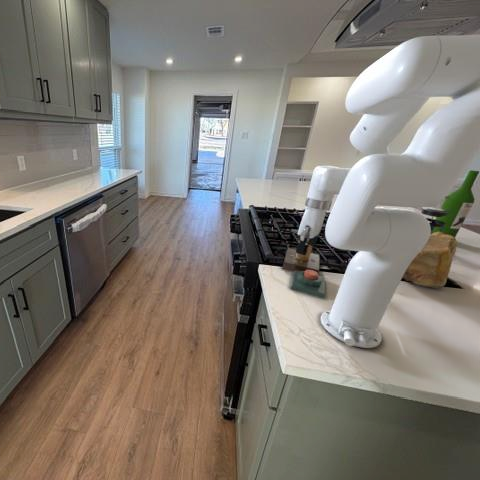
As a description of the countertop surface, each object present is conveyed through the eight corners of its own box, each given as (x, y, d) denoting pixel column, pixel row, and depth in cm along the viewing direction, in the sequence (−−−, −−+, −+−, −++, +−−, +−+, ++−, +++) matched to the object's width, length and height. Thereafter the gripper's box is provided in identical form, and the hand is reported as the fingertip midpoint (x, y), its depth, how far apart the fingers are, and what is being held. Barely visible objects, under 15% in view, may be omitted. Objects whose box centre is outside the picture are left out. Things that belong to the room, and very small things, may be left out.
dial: (293, 257, 94) (297, 244, 91) (298, 254, 96) (301, 241, 94) (306, 262, 91) (310, 248, 89) (310, 258, 93) (314, 245, 91)
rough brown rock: (388, 257, 104) (399, 223, 99) (447, 271, 92) (463, 232, 87) (374, 278, 91) (385, 239, 85) (441, 296, 79) (459, 253, 73)
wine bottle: (444, 243, 118) (481, 172, 105) (422, 236, 126) (454, 169, 113) (457, 242, 120) (495, 172, 107) (435, 234, 128) (468, 169, 115)
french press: (439, 248, 112) (465, 197, 103) (429, 252, 108) (456, 199, 99) (406, 238, 122) (428, 191, 113) (396, 241, 118) (418, 193, 109)
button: (316, 281, 79) (317, 276, 78) (303, 277, 80) (304, 273, 80) (316, 276, 82) (318, 271, 81) (304, 273, 83) (305, 268, 83)
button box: (323, 298, 76) (326, 288, 74) (290, 289, 80) (293, 279, 79) (323, 281, 85) (326, 272, 83) (293, 274, 89) (296, 265, 87)
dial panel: (316, 277, 87) (319, 270, 85) (281, 269, 92) (283, 261, 90) (317, 261, 98) (319, 254, 97) (286, 254, 103) (288, 247, 102)
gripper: (313, 198, 93) (302, 241, 100) (297, 205, 82) (285, 253, 88) (337, 202, 88) (323, 247, 95) (323, 210, 77) (308, 260, 83)
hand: (305, 250), depth 92 cm, fingers open, 9 cm apart
